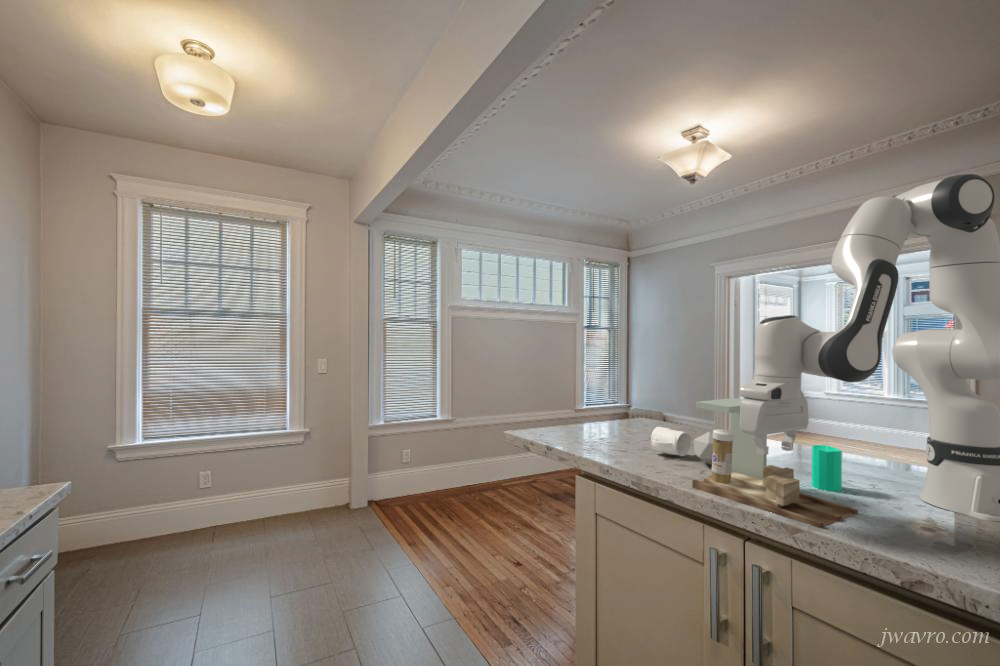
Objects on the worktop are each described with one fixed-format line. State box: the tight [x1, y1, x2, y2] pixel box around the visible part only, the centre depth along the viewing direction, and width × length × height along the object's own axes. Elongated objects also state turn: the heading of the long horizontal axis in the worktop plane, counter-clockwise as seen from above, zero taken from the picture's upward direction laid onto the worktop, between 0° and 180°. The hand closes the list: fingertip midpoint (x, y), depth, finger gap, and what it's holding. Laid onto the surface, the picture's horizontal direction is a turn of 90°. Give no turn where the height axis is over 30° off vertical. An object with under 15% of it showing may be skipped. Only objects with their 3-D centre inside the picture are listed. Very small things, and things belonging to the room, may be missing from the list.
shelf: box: [695, 397, 768, 480], centre depth 113 cm, size 9×15×22 cm, turn 119°
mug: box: [650, 426, 693, 457], centre depth 144 cm, size 12×9×8 cm
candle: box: [811, 441, 843, 492], centre depth 112 cm, size 6×6×12 cm
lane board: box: [691, 475, 859, 529], centre depth 104 cm, size 29×15×2 cm, turn 29°
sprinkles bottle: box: [711, 428, 734, 484], centre depth 110 cm, size 5×5×14 cm
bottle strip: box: [703, 475, 800, 508], centre depth 104 cm, size 20×6×6 cm, turn 29°
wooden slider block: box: [731, 464, 795, 491], centre depth 110 cm, size 15×6×6 cm, turn 29°
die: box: [693, 431, 714, 466], centre depth 132 cm, size 8×9×10 cm
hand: (775, 452), depth 98 cm, fingers open, 8 cm apart
